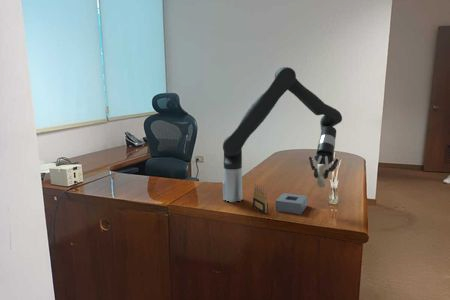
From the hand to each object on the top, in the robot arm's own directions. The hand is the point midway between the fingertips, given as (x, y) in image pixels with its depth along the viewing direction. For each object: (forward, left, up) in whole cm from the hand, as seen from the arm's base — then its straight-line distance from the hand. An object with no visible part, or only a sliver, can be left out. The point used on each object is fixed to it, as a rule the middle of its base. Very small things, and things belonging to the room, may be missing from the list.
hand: (320, 177), depth 153 cm
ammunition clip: (-26, -6, -17) cm, 32 cm away
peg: (0, +2, -5) cm, 5 cm away
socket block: (-13, +2, -17) cm, 22 cm away
